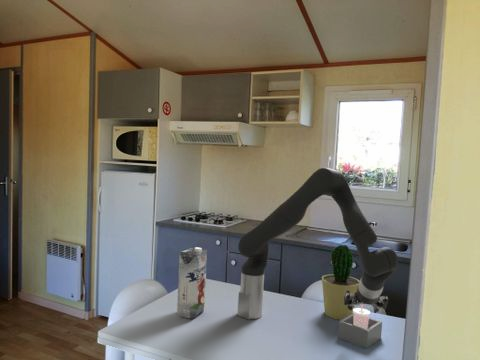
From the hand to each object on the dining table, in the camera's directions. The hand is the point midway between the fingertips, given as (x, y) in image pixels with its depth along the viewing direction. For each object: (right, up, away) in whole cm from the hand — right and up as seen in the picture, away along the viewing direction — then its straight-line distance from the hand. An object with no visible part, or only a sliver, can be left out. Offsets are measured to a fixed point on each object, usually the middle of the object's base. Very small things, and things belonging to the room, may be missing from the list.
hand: (362, 309), depth 142 cm
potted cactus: (-3, -10, +23) cm, 25 cm away
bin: (0, -11, +2) cm, 11 cm away
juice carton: (-64, -7, +15) cm, 66 cm away
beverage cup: (0, -10, +2) cm, 10 cm away
